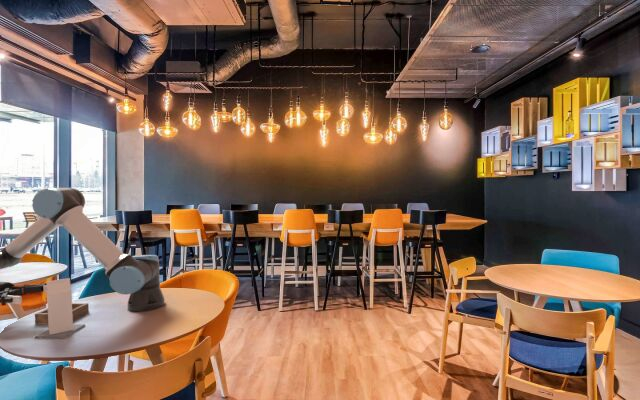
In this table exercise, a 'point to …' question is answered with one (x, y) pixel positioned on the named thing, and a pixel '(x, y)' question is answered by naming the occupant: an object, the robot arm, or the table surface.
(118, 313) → the table surface
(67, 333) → the slate pad
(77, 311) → the walnut holder
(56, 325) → the milk carton
